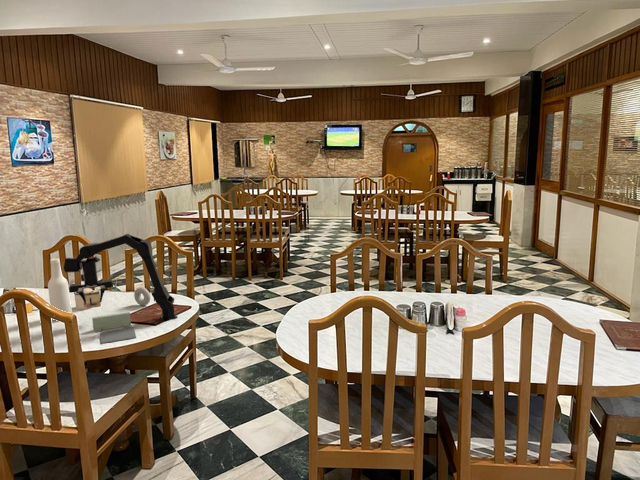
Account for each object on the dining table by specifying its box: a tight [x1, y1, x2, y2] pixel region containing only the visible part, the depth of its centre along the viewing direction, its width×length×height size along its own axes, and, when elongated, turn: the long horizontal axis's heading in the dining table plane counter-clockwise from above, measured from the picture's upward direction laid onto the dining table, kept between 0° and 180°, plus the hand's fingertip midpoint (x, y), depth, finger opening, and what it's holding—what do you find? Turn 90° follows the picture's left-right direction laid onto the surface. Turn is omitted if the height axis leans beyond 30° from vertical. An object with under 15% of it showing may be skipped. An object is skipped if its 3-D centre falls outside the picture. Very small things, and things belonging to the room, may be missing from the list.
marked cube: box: [85, 290, 102, 309], centre depth 226 cm, size 6×6×6 cm
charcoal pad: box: [100, 326, 137, 345], centre depth 213 cm, size 14×14×1 cm
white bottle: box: [47, 257, 73, 314], centre depth 234 cm, size 9×9×30 cm
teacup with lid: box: [73, 288, 95, 311], centre depth 252 cm, size 12×9×12 cm
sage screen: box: [91, 311, 132, 333], centre depth 222 cm, size 6×16×6 cm, turn 115°
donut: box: [133, 286, 151, 307], centre depth 252 cm, size 10×4×10 cm, turn 66°
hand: (93, 303), depth 227 cm, fingers closed on marked cube, 6 cm apart
